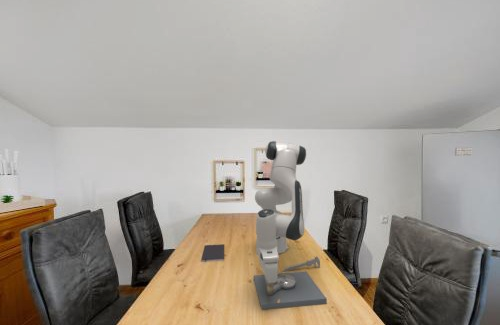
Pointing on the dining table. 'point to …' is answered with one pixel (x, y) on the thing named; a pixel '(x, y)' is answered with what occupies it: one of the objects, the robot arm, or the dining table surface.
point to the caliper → (304, 264)
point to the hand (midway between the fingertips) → (267, 281)
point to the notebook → (213, 253)
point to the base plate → (290, 292)
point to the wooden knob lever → (281, 284)
